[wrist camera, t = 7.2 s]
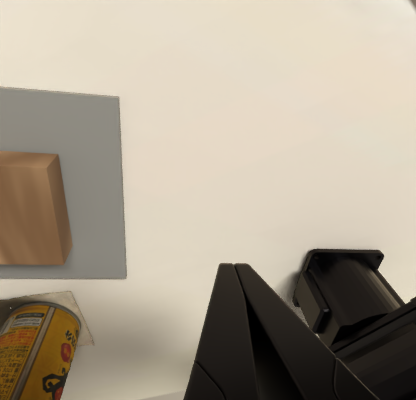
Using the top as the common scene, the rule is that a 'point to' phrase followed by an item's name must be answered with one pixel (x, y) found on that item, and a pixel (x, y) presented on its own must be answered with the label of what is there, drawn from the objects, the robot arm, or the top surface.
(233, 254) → the top surface
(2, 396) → the condiment
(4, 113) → the mat
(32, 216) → the wooden block
